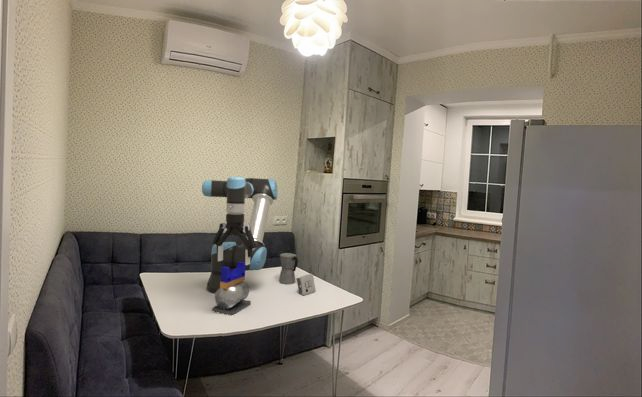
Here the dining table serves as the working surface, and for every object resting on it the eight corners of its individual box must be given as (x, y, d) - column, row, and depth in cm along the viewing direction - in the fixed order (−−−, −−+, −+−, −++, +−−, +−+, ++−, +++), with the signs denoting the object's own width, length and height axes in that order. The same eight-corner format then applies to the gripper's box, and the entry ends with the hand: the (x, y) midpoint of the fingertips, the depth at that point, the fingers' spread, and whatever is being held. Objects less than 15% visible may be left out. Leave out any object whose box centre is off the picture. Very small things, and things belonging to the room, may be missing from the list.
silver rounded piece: (232, 315, 136) (233, 284, 136) (211, 311, 139) (212, 280, 139) (250, 304, 149) (251, 275, 149) (231, 300, 153) (232, 272, 152)
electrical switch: (303, 296, 164) (303, 277, 164) (295, 294, 167) (295, 276, 167) (315, 292, 171) (315, 273, 171) (308, 290, 174) (307, 272, 174)
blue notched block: (236, 274, 150) (237, 261, 149) (244, 276, 148) (245, 262, 147) (218, 281, 139) (218, 266, 138) (226, 282, 137) (227, 268, 137)
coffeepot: (273, 280, 188) (274, 248, 187) (287, 277, 194) (289, 247, 193) (288, 287, 176) (290, 253, 175) (303, 284, 182) (304, 251, 181)
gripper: (205, 211, 143) (203, 260, 144) (256, 216, 135) (254, 268, 136) (216, 210, 150) (214, 257, 151) (265, 214, 142) (263, 264, 143)
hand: (233, 262), depth 144 cm, fingers open, 13 cm apart
